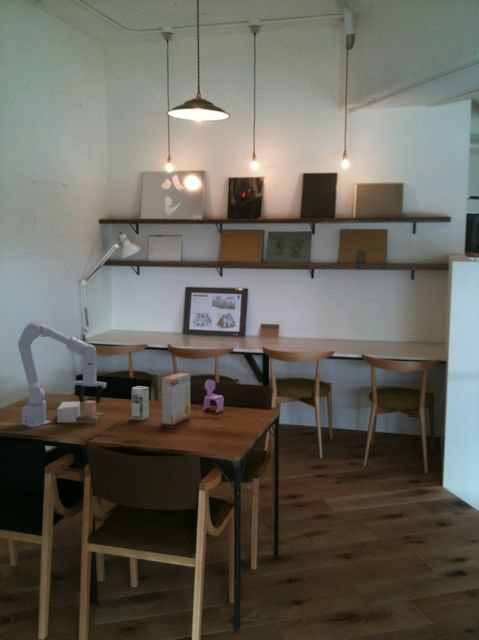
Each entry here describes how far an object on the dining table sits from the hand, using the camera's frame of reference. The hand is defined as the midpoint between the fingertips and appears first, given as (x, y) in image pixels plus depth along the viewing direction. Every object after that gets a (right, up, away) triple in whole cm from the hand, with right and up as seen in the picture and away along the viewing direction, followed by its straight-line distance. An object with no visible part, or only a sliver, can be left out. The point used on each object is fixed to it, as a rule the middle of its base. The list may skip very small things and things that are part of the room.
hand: (89, 402), depth 251 cm
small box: (-11, -4, +9) cm, 15 cm away
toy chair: (+54, -7, +21) cm, 58 cm away
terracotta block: (0, -6, +1) cm, 6 cm away
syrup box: (+21, -8, +6) cm, 24 cm away
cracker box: (+38, -9, +3) cm, 39 cm away
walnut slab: (0, -9, +1) cm, 9 cm away
